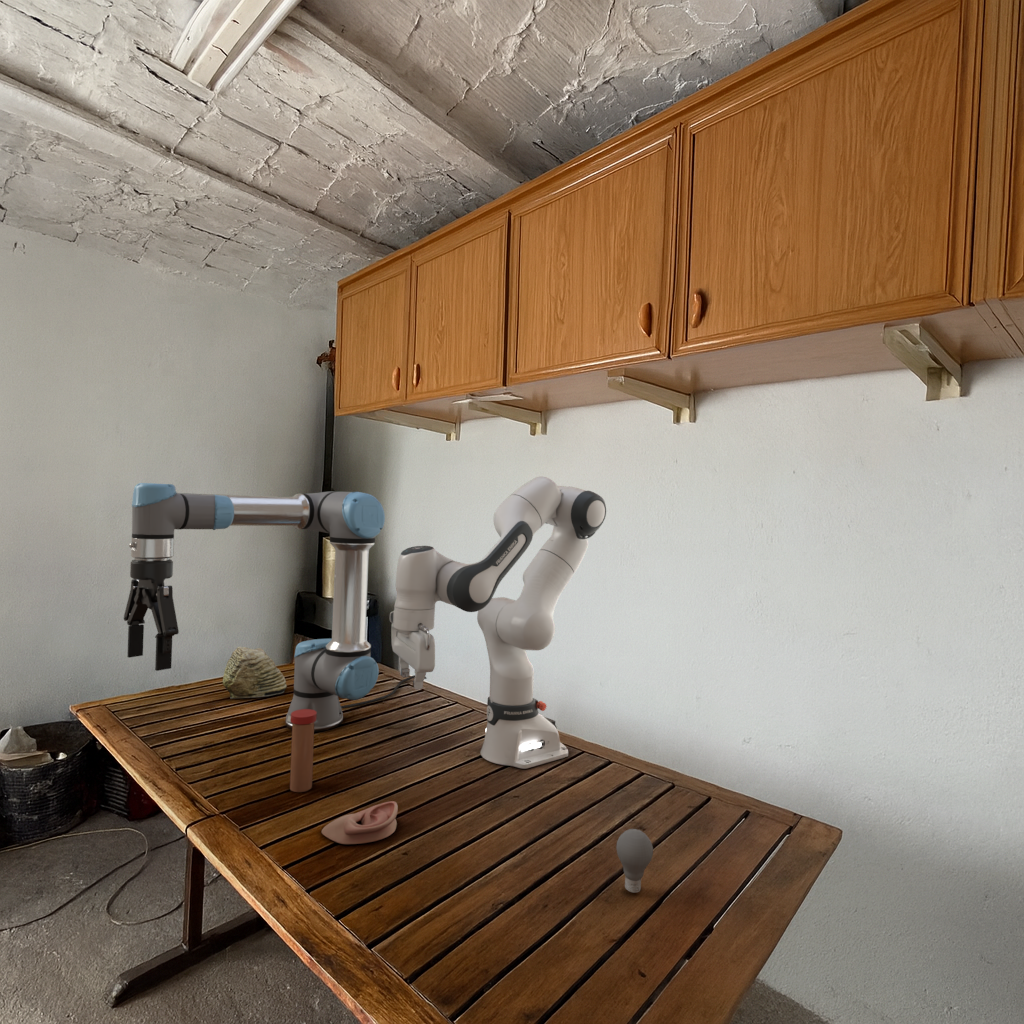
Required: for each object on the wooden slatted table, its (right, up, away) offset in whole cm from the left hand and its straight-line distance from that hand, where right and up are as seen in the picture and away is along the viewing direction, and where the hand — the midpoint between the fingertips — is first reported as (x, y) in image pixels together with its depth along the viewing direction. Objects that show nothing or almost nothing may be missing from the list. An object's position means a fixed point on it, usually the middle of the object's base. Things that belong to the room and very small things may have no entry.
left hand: (148, 662), depth 129 cm
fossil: (-6, -27, +69) cm, 74 cm away
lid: (+29, -13, +8) cm, 33 cm away
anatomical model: (+45, -30, -8) cm, 55 cm away
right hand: (+52, -7, +10) cm, 53 cm away
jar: (+28, -29, +8) cm, 41 cm away
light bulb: (+94, -33, -24) cm, 103 cm away
